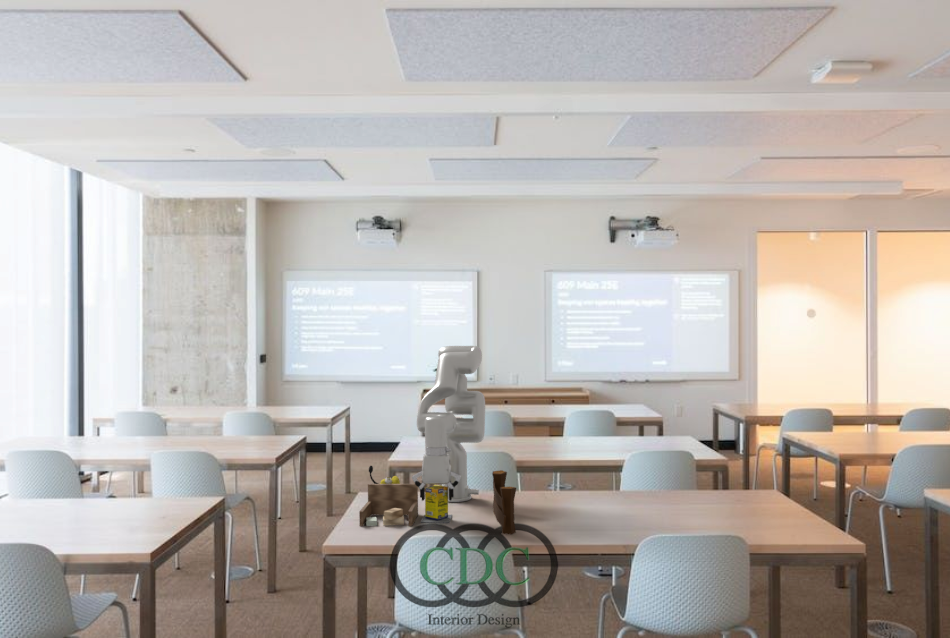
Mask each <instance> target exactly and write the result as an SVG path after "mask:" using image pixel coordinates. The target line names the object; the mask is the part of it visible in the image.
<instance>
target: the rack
mask: <svg viewBox="0 0 950 638" xmlns="http://www.w3.org/2000/svg"><path fill="white" fill-rule="evenodd" d="M393 508H400V509H403V516H408V517H407V519H408V522H407V523H408V525H407V526H408V527H413V525H414V523H415V521H416V519H417V517H418V516H419V487H418V486H416V485H415V483H400V484H380V483H379V484H374V483H369V484H367V502H366V503H365V504H364V505H363V507H362V508H361V509H360V510H359V512H358V513H359V517H358V518H359V527H364V526H365V525H366V518H367V517H372V516H384V511H386V510H390V509H393Z"/></svg>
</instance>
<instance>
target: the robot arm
mask: <svg viewBox="0 0 950 638" xmlns="http://www.w3.org/2000/svg"><path fill="white" fill-rule="evenodd" d="M437 356H438V360H437V366H436V372H435V373H436V374H435V380H434V385H433V387H432V388H431V389H430V390H428V391H427V392H426V394H425V395H424V396H423V397H422V399H421V401H420V402H419V406H418V411H417V415H416V417H417V418H416V427H417V430H418V431H419V432H420V433H423V434H424V446H425V448H424V450H425V451H424V452H425V453H424V454H423V457H422V465H421V471H419V472H416V473H415V474H413V475H412V476H411V479H412V481H413V484H415V485H416V486H418V490H419V498H420V499H421V501H422V502H423V501H425V488H426V485H442V486H446V487H448V503H461V502H462V503H464V502H467V501H469V500H472V495H479V491H480V490H479V489H477V488H469V487H470V486H469V485H468V455H467V451H466V448H464V446H463V445H462V444H463V443H464V444H465V443H466V444H467V443H468V444H470V443H471V444H476V443H481V442H483V440H484V438H485V432H486V431H485V428H486V427H485V426H486V398H485V395H484V393H482V392H481V391H479V390H468V377H467V375H472V374H474V373H475V372H476V371H477V369H479V367H480V365H481V363H482V359H483V354H482V350H481V348H480V347H479V346H478V345H447V346H442V347H441V348H439V350H438V354H437ZM443 400H444V406H445V407H444V408H445V412H439V411H438V412H435V411H432V412H431V411H429V409H430V408H431V407H432V406H433V405H435V404H437V403H438V402H440V401H443ZM456 416H472V417H456ZM420 477H421V482H420V481H419V480H418V478H420Z"/></svg>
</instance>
